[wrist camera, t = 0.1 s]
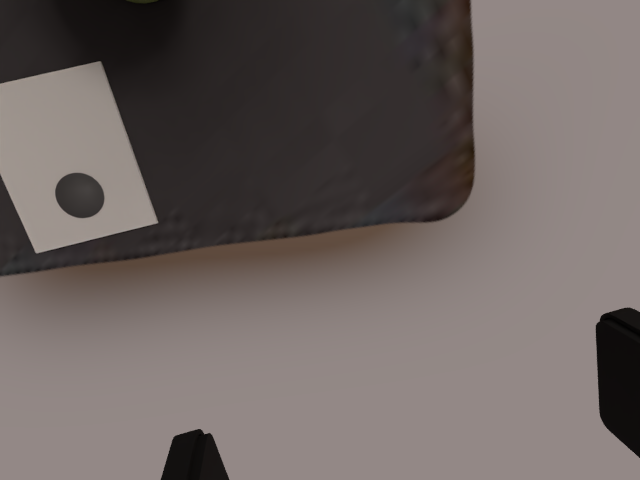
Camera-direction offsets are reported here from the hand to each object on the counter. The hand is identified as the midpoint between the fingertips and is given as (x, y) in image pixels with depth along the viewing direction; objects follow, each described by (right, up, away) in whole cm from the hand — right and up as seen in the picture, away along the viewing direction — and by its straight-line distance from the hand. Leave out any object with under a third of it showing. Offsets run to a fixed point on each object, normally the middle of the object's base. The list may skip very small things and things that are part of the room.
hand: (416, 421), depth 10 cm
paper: (-24, +11, +26) cm, 37 cm away
